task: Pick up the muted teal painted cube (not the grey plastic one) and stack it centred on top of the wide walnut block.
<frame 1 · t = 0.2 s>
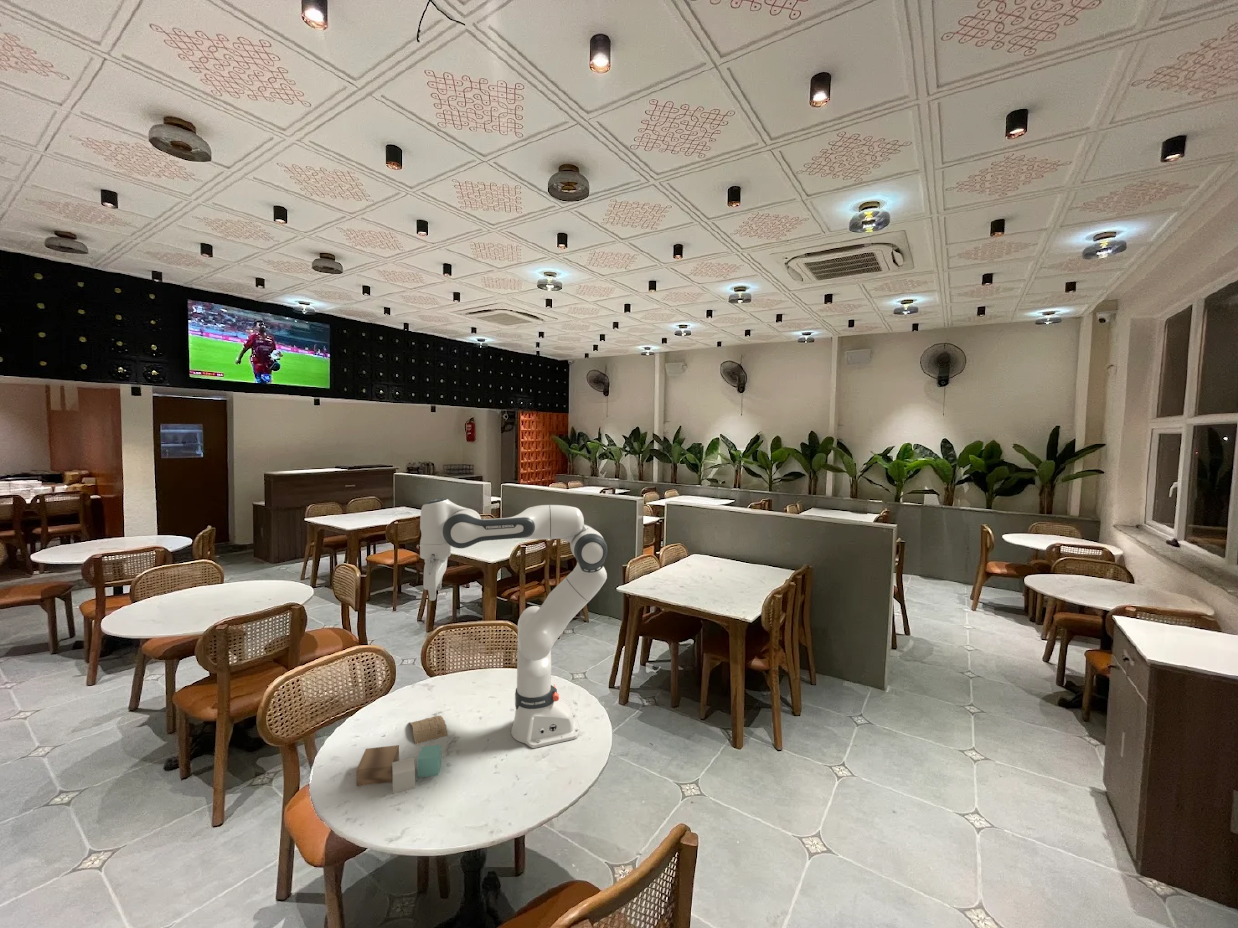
hand: (435, 594, 151), 47 cm above the table, fingers open, 8 cm apart
teal cube: (429, 769, 141), on the table
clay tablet: (427, 731, 160), on the table
grey cube: (403, 784, 135), on the table
walnut base: (378, 773, 139), on the table
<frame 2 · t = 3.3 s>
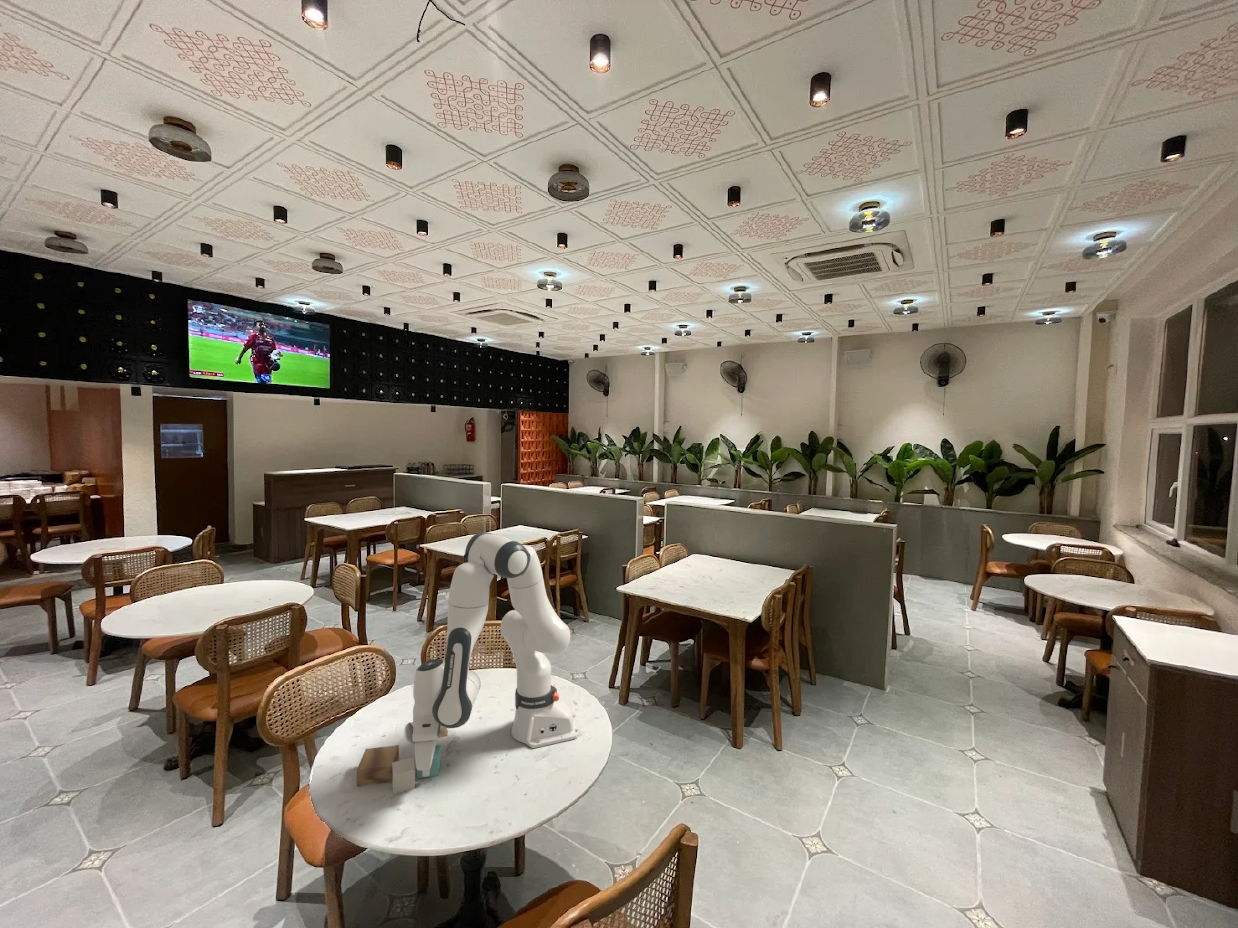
hand: (429, 763, 140), 2 cm above the table, fingers open, 8 cm apart
nothing on the table moved.
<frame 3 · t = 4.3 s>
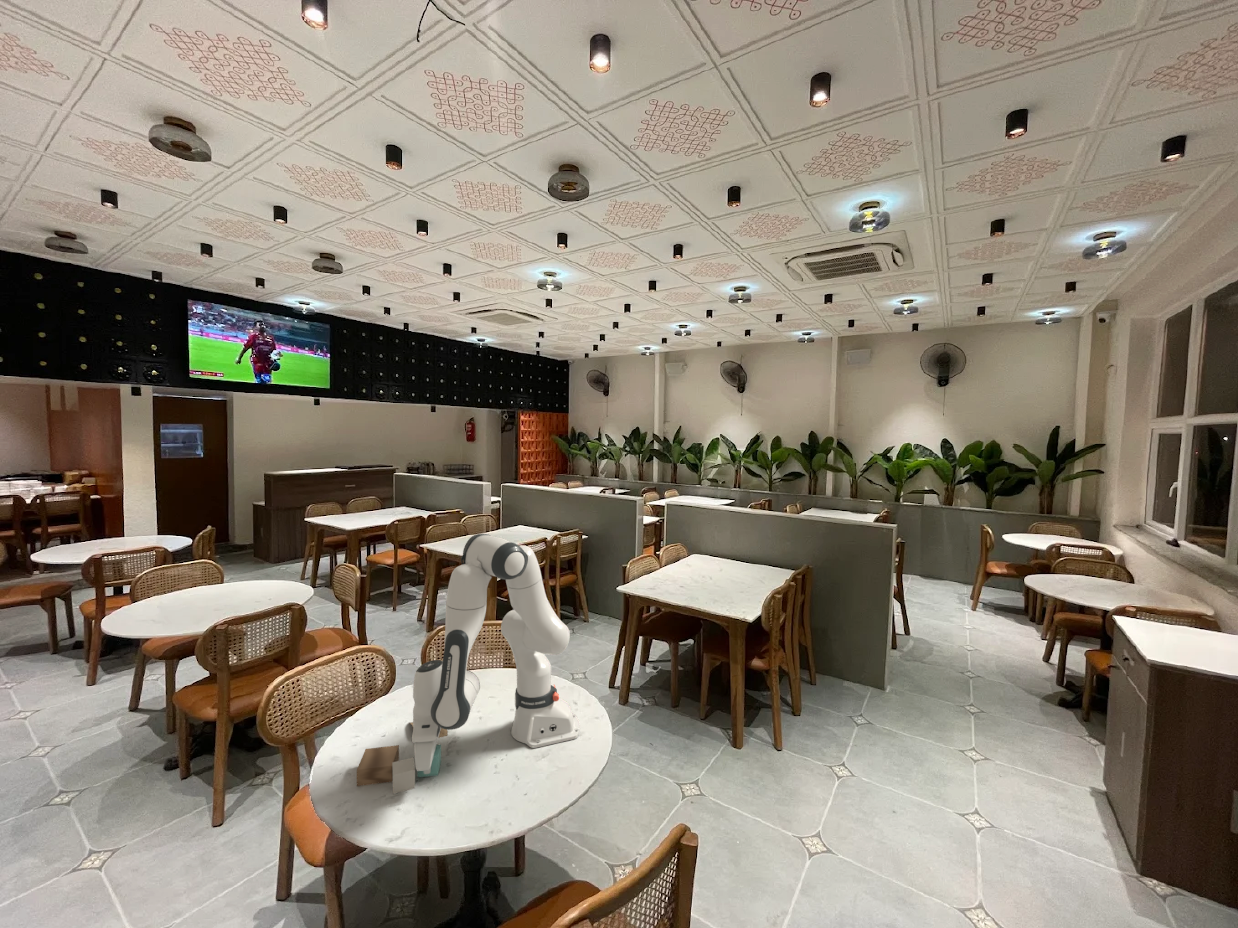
hand: (429, 763, 141), 2 cm above the table, fingers closed on teal cube, 5 cm apart
teal cube: (429, 769, 141), on the table, touching gripper
everything else where it was.
when the fingers open (8 cm above the table, at t = 9.2 s): teal cube drops 2 cm, resting on walnut base.
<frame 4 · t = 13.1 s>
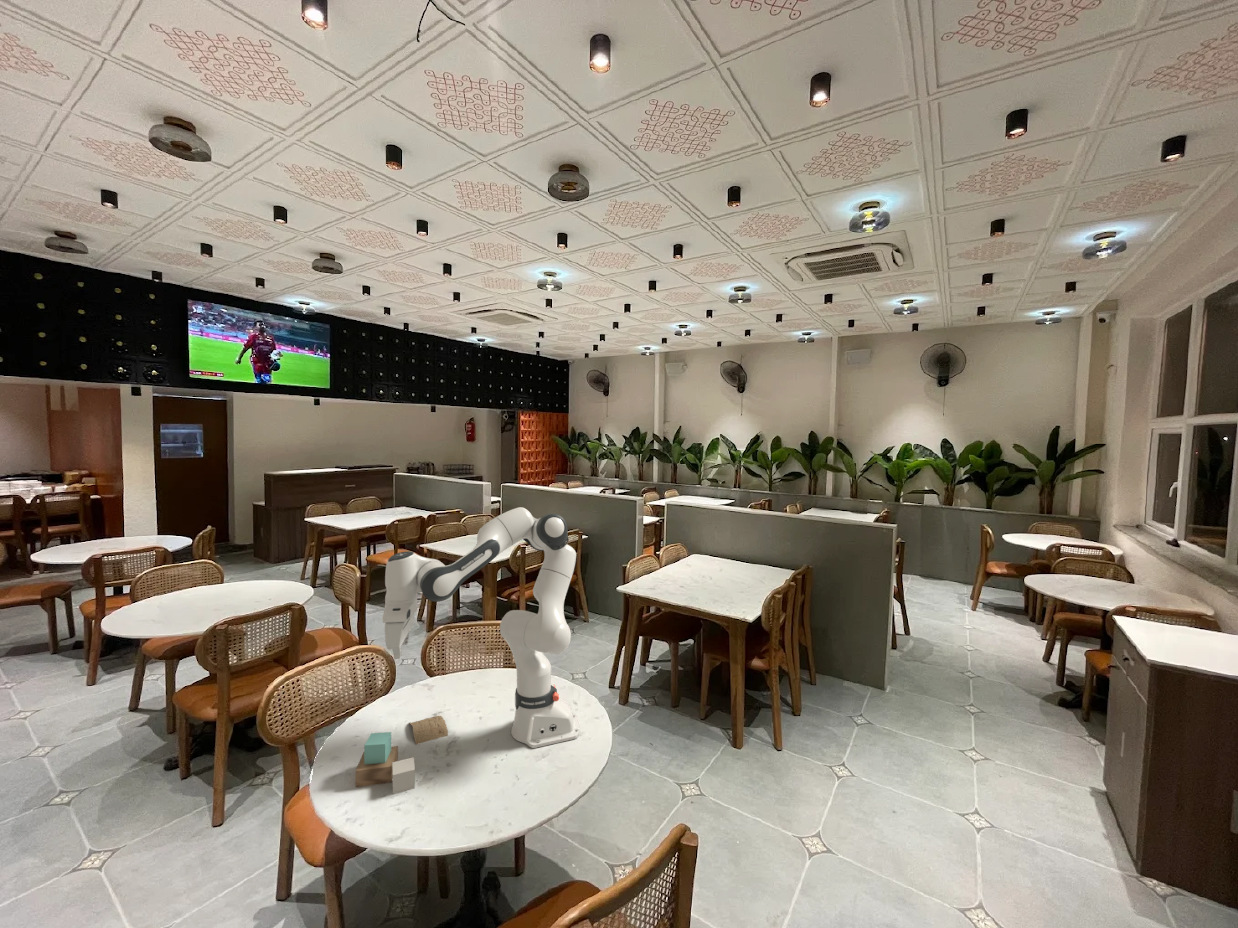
hand: (401, 650, 148), 31 cm above the table, fingers open, 8 cm apart
teal cube: (378, 756, 139), point 5 cm above the table, touching walnut base
walnut base: (377, 774, 139), on the table, touching teal cube
everything else where it was.
at the end: teal cube 0.4 cm off-centre on the walnut base, point 5.0 cm above the walnut base's base; teal cube tilted 0°; the gripper is holding nothing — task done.
